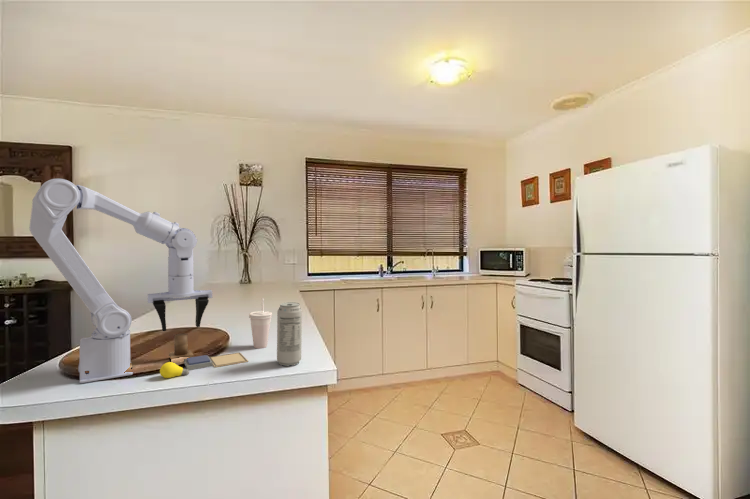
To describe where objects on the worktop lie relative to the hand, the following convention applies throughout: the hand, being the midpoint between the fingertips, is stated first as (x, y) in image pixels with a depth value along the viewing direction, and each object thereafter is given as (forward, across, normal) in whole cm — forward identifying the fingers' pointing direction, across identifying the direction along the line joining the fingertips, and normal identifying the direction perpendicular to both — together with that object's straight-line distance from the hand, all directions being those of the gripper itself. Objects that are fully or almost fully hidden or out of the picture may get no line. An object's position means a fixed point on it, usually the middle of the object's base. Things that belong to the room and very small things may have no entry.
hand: (181, 328), depth 95 cm
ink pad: (+8, -3, +6) cm, 11 cm away
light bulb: (+8, +3, +12) cm, 15 cm away
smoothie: (+8, -20, 0) cm, 22 cm away
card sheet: (+8, -10, +6) cm, 14 cm away
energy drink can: (+8, -22, +16) cm, 29 cm away
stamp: (+8, 0, 0) cm, 8 cm away
